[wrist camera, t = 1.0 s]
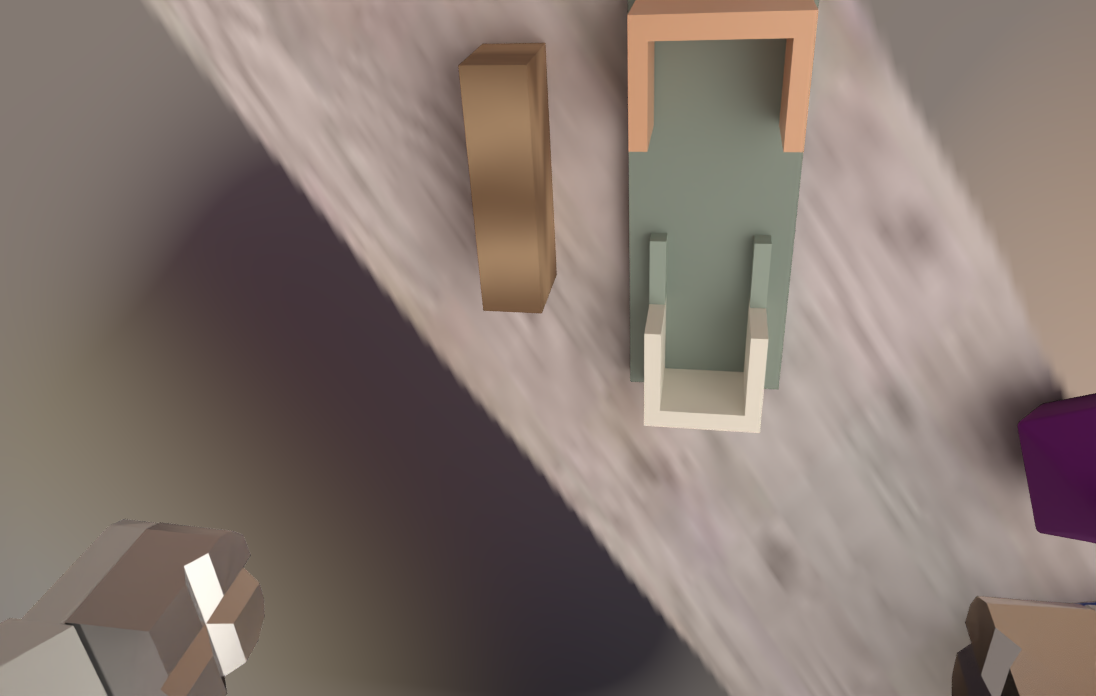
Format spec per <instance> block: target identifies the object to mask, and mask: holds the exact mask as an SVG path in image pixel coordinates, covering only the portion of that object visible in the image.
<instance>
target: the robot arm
mask: <svg viewBox="0 0 1096 696" xmlns="http://www.w3.org/2000/svg"><path fill="white" fill-rule="evenodd" d="M250 556H251V554H250V552H249V549H248V547H247V544H246V541H245V538H244V536H243V535H242V534H240V533H237V532H234V531H230V530H221V529H213V528H204V527H195V526H187V525H178V524H169V523H161V522H160V523H154V522H145V521H136V520H128V519H123V520H121V521H118V522H116V523H113V524H111V525H109V526H108V527H107V528H106V529H105V530H104V531H103V533H102V534H101V535H100V536H99V537H98V538H97V539H96V540H95V541H94V542H93V543H92V544H91V545H90V547H88V548H87V550H86V551H85V552H84V553H83V554H82V555H81V556H80V557H79V558H78V559H77V560H76V561H75V562H74V563H73V564H72V566H71V567H70V568H69V569H68V570H67V571H66V572H65V573H64V574H63V575H62V576H61V577H60V578H59V579H58V580H57V582H56V583H55V584H54V585H53V586H52V587H51V588H50V589H49V590H48V591H47V592H46V593H45V594H44V595H43V596H42V597H41V599H40V600H39V601H38V602H37V603H36V604H35V605H34V606H33V607H32V608H31V609H30V610H29V611H28V612H27V614H26V615H25V616H24V617H23V618H22V619H13V618H9V619H7V620H5V621H3V622H1V623H0V696H226V695H227V689H226V682H225V675H227V674H228V673H230V672H232V671H233V670H235V669H236V668H238V667H239V666H241V665H242V664H244V663H245V662H246V661H247V660H248V658H249V656H250V654H251V653H252V651H253V649H254V647H255V646H256V644H257V642H258V639H259V636H260V632H261V628H262V624H263V620H264V617H265V614H264V596H263V593H262V590H261V586H260V583H259V582H258V581H257V580H256V579H255V578H254V577H253V576H252V575H251V574H249V572H247V571H246V570H245V569H244V566H245V564H246V563H247V561H248V559H249V558H250ZM965 624H966V627H967V630H968V634H969V637H970V640H971V644H970V645H968V646H967V647H965V648H964V649H962V650H961V651H959V652H958V653H957V655H956V660H955V664H954V669H953V673H952V696H1096V605H1085V606H1083V605H1081V604H1072V603H1059V602H1047V601H1034V600H1021V599H1009V598H996V597H984V596H977V597H976V598H975V599H974V600H973V602H972V603H971V604H970V607H969V611H968V614H967V618H966V621H965Z"/></svg>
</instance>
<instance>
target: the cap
mask: <svg viewBox="0 0 1096 696" xmlns="http://www.w3.org/2000/svg"><path fill="white" fill-rule="evenodd" d="M817 19H818V8H817V6H816V4H815V2H814V0H635V2H634V4H633V6H632V8H631V9H630V11H629V13H628V15H627V32H628V152H647V151H648V147H649V143H650V139H651V135H652V131H653V127H654V47H655V41H687V40H733V39H780V38H787V40H786V51H785V63H784V74H783V86H782V97H781V109H780V120H779V128H780V134H781V140H782V146H783V152H804V144H805V134H806V124H807V115H808V105H809V96H810V86H811V77H812V67H813V58H814V48H815V38H816V29H817Z"/></svg>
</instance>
